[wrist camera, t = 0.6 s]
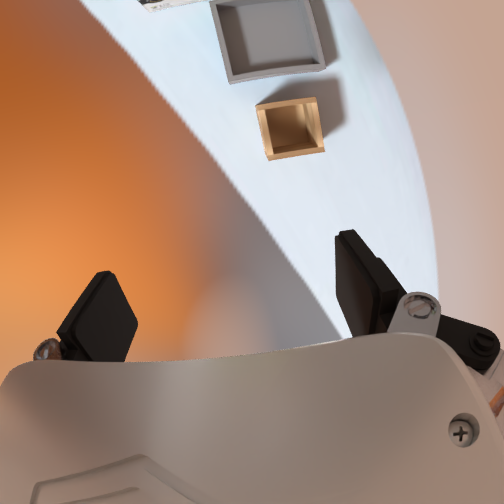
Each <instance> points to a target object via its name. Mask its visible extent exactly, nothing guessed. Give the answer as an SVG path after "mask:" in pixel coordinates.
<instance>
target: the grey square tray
mask: <svg viewBox="0 0 504 504" xmlns="http://www.w3.org/2000/svg"><path fill="white" fill-rule="evenodd" d="M209 3H210V7H211V11H212V16H213V20H214V24H215V28H216V32H217V36H218V40H219V44H220V48H221V53H222V57H223V61H224V65H225V70H226V74H227V78H228V82H229V84H235V83H240V82H245V81H250V80H256V79H261V78H268V77H274V76H281V75H289V74H298V73H308V72H319V71H322V70H324V69H326V65H325V60H324V56H323V52H322V47H321V43H320V39H319V35H318V31H317V27H316V24H315V20H314V17H313V13H312V10H311V6H310V3H309V0H213V1H209Z"/></svg>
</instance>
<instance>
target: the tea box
mask: <svg viewBox="0 0 504 504" xmlns="http://www.w3.org/2000/svg"><path fill="white" fill-rule="evenodd" d="M137 1H139V2H140V3H141V4H142V6H143V7H144V8H145V9H146V10H147V11H148V12H149V13H152V12H156V11H160V10H163V9H167V8H171V7H175V6H180V5H185V4H190V3H195V2H201V1H207V0H137Z"/></svg>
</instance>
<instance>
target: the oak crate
mask: <svg viewBox="0 0 504 504" xmlns="http://www.w3.org/2000/svg"><path fill="white" fill-rule="evenodd" d="M255 107H256V112H257V117H258V121H259V126H260V131H261V136H262V141H263V145H264V150H265V154H266V156H267V158H268V160H269V161H271V160H277V159H283V158H288V157H294V156H300V155H307V154H313V153H320V152H325V150H324V143H323V136H322V130H321V124H320V117H319V112H318V106H317V100H316V97H309V98H301V99H293V100H285V101H279V102H272V103H266V104H261V105H256V106H255Z"/></svg>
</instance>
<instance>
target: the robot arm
mask: <svg viewBox="0 0 504 504" xmlns="http://www.w3.org/2000/svg"><path fill="white" fill-rule="evenodd" d="M335 263H336V297H337V300H338V302H339V305H340V307H341V310H342V312H343V314H344V317H345V319H346V322H347V324H348V326H349V329H350V331H351V334H352V336H353V337H352V338H347V339H342V340H336V341H330V342H324V343H319V344H314V345H308V346H303V347H297V348H290V349H284V350H277V351H270V352H264V353H256V354H247V355H240V356H230V357H220V358H209V359H198V360H182V361H161V362H124V361H125V358H126V355H127V353H128V350H129V348H130V345H131V342H132V340H133V337H134V335H135V332H136V330H137V327H138V321H137V318H136V317H135V315H134V313H133V311H132V309H131V307H130V305H129V303H128V301H127V299H126V297H125V295H124V293H123V291H122V289H121V287H120V285H119V283H118V281H117V278H116V276H115V275H114V274H113V273H111V272H110V271H103V272H98V273H96V275H95V276H94V278H93V279H92V280H91V282H90V283H89V284H88V286H87V287H86V289H85V290H84V291H83V293H82V294H81V296H80V297H79V298H78V300H77V302H76V303H75V304H74V306H73V307H72V309H71V310H70V312H69V313H68V315H67V316H66V318H65V319H64V321H63V322H62V324H61V326H60V327H59V329H58V330H57V332H56V333H57V334H58V336H59V337H60V339H61V341H60V343H59V342H58V340H57V339H55V338H49V339H47V340H45V341H43V342H42V343H40V345H39V346H38V347H37V348H36V350H35V352H34V354H33V361H30V362H26V363H23V364H21V365H19V366H17V367H15V368H13V369H12V370H11V371H10V372H9V373H8V375H7V376H6V378H5V379H4V381H3V383H2V384H1V386H0V504H504V350H502V349H500V342H499V339H498V338H497V336H496V335H495V334H494V333H493V332H492V331H490V330H488V329H486V328H483V327H480V326H476V325H473V324H470V323H467V322H464V321H461V320H457V319H454V318H451V317H448V316H445V315H441V306H440V304H439V302H438V300H437V299H436V298H435V297H433V296H431V295H430V294H427V293H424V292H411V293H408V294H407V292H406V291H405V290H404V288H403V287H402V286H401V284H400V283H399V282H398V280H397V279H396V278H395V276H394V275H393V274H392V272H391V271H390V270H389V268H388V267H387V266H386V264H385V263H384V262H383V261H382V259H381V258H378V257H377V258H376V256H375V255H374V254H373V252H372V251H371V250H370V249H369V247H368V246H367V245H366V244H365V242H364V241H363V240H362V239H361V237H360V236H359V235H358V234H357V232H356V231H355V230H354V229H352V230H345V231H340V232H339V235H337V236H335Z"/></svg>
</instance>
